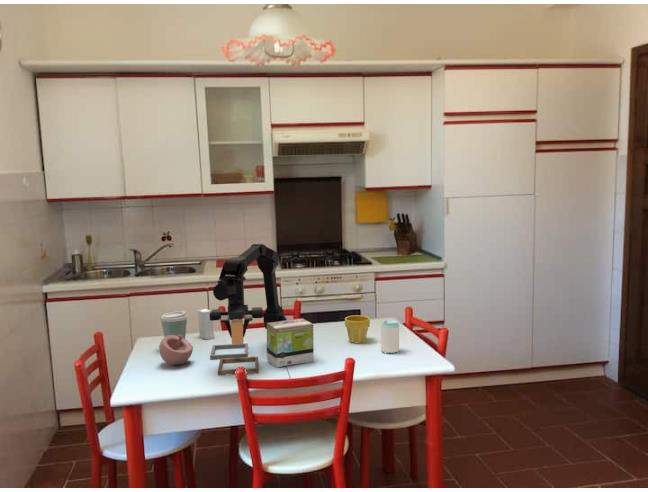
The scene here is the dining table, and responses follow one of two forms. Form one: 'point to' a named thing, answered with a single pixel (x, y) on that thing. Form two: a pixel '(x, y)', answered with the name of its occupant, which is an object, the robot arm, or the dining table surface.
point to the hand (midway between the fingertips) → (237, 337)
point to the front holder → (234, 360)
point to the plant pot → (357, 327)
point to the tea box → (290, 342)
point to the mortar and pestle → (175, 349)
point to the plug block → (237, 331)
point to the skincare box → (205, 324)
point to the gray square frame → (229, 346)
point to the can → (389, 336)
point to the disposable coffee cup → (174, 323)
